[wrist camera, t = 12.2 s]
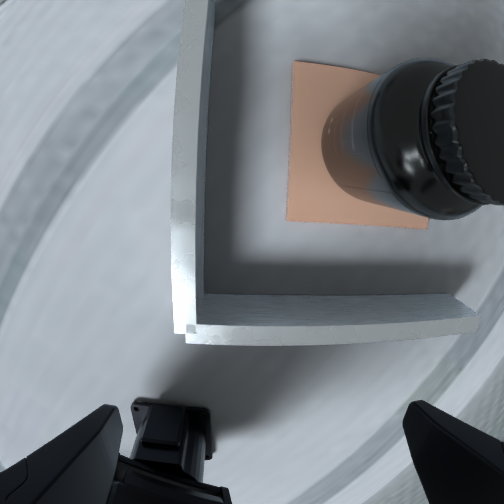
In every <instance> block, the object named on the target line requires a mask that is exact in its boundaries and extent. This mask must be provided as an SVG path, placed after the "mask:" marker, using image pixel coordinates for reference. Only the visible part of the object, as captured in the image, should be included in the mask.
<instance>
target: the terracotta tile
mask: <svg viewBox="0 0 504 504" xmlns="http://www.w3.org/2000/svg"><path fill="white" fill-rule="evenodd" d="M379 76H381V75H378V74H373V73H369V72H364V71H359V70H353V69H348V68H342V67H336V66H329V65H322V64H315V63H307V62H298V61H294V62H293V63H292V90H291V120H290V145H289V167H288V187H287V205H286V220H287V221H298V222H319V223H338V224H356V225H372V226H388V227H402V228H416V229H428V220H429V218H427V217H423V216H419V215H415V214H412V213H408V212H404V211H400V210H396V209H392V208H389V207H385V206H381V205H377V204H372V203H369V202H365V201H362V200H359V199H357V198H354V197H353V196H351V195H349V194H347V193H346V192H345V191H343V190H342V189H341V188H340V187H339V186H338V185H337V184H336V183H335V182H334V180H333V179H332V177H331V176H330V174H329V172H328V171H327V168H326V166H325V163H324V160H323V156H322V150H321V137H322V131H323V127H324V124H325V122H326V120H327V118H328V116H329V115H330V113H331V112H332V111H333V109H334V108H335V107H336V106H337V105H338V104H340V103H341V102H342V101H344V100H345V99H346V98H348V97H349V96H351V95H352V94H354V93H355V92H357V91H358V90H360V89H361V88H363V87H364V86H366V85H367V84H369V83H370V82H372V81H373V80H375V79H376V78H378V77H379Z"/></svg>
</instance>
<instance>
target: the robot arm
mask: <svg viewBox="0 0 504 504" xmlns="http://www.w3.org/2000/svg"><path fill="white" fill-rule="evenodd" d="M136 407H138V408H136ZM131 412H132V416H133V421H134V425H135V429H136V433H137V437H136V440H135V443H134V446H133V449H132V452H131V456H130V458H127V457H125V456H122V455H120V453H119V448H120V443H121V438H122V433H123V425H122V421H121V417H120V413H119V410H118V408H117V406H114V405H108V404H104V405H102V406H100V407H99V408H98V409H96V410H95V411H93V412H92V413H90V414H89V415H88V416H86V417H85V418H83V419H82V420H80V421H79V422H77V423H76V424H75V425H73V426H72V427H70V428H69V429H67V430H66V431H64V432H63V433H61V434H60V435H58V436H57V437H55V438H54V439H52V440H51V441H49V442H48V443H47V444H45V445H44V446H42V447H41V448H39V449H37V450H36V451H34V452H33V453H31V454H30V455H28V456H27V459H26V458H24V459H22V460H21V461H19V462H17V463H16V464H14V465H13V466H11V467H9V468H8V469H6V470H4V471H2V472H0V504H232V501H231V497H230V494H229V490H228V488H226V487H217V486H213V485H209V484H205V483H203V472H204V460H210V459H212V437H211V416H210V410H209V409H207V408H201V407H186V406H173V405H162V404H152V403H143V402H133V403H132V405H131ZM202 413H205V414H202ZM403 429H404V432H405V436H406V439H407V443H408V446H409V450H410V454H411V457H412V460H413V463H414V466H415V469H416V471H417V474H418V476H419V479H420V481H421V484H422V486H423V489H424V491H425V494H426V496H427V499H428V502H429V504H504V442H502V441H500V440H498V439H496V438H494V437H492V436H490V435H488V434H486V433H484V432H482V431H480V430H478V429H476V428H474V427H472V426H470V425H469V424H467V423H465V422H463V421H461V420H459V419H457V418H455V417H453V416H451V415H449V414H447V413H446V412H444V411H442V410H440V409H438V408H436V407H434V406H432V405H431V404H429V403H427V402H425V401H423V400H418V401H413V402H411V403H410V404H409V406H408V409H407V411H406V414H405V416H404V419H403Z"/></svg>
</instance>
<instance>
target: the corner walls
mask: <svg viewBox="0 0 504 504" xmlns="http://www.w3.org/2000/svg"><path fill="white" fill-rule="evenodd" d="M215 14H216V13H215V5H214V0H185V5H184V13H183V21H182V29H181V38H180V47H179V57H178V67H177V78H176V91H175V105H174V122H173V142H172V170H171V266H172V294H173V315H174V332H175V333H181V334H186V343H190V344H212V345H248V346H297V345H333V344H354V343H371V342H385V341H398V340H409V339H419V338H429V337H438V336H446V335H454V334H462V333H469V332H476V331H477V329H478V325H479V322H480V318H481V315H480V314H478V313H477V312H475V311H474V310H472V309H471V308H469V307H468V306H466V305H465V304H464V303H462V302H461V301H459V300H458V299H456V298H455V297H453V296H452V295H450V294H449V293H440V294H409V295H349V296H304V295H242V294H209V293H204V214H205V174H206V147H207V126H208V107H209V90H210V75H211V61H212V48H213V36H214V25H215Z"/></svg>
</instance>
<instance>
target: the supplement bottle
mask: <svg viewBox="0 0 504 504" xmlns="http://www.w3.org/2000/svg"><path fill="white" fill-rule="evenodd" d="M321 150H322V156H323V160H324V163H325V166H326V168H327V171H328V172H329V174H330V176H331V177H332V179H333V180H334V182H335V183H336V184H337V185H338V186H339V187H340V188H341V189H342V190H343V191H345V192H346V193H347V194H349V195H351V196H353V197H354V198H357V199H359V200H362V201H365V202H369V203H372V204H377V205H381V206H385V207H389V208H392V209H396V210H400V211H404V212H408V213H412V214H415V215H419V216H423V217H427V218H431V219H437V220H454V219H459V218H463V217H465V216H467V215H469V214H471V213H473V212H475V211H476V210H477V209H479V208H480V207H481V206H482V205H487V204H493V205H503V206H504V65H503V64H499V63H497V62H496V61H495V60H490V61H489V60H487V59H480V60H472V61H469V62H467V63H464V64H462V65H456V66H455V65H453V64H451V63H448V62H446V61H443V60H439V59H433V58H417V59H412V60H408V61H406V62H404V63H401V64H399V65H397V66H395V67H394V68H392V69H390V70H389V71H387V72H386V73H384V74H383V75H381V76H379V77H378V78H376V79H375V80H373V81H372V82H370V83H369V84H367V85H366V86H364V87H363V88H361V89H360V90H358V91H357V92H355V93H354V94H352V95H351V96H349V97H348V98H346V99H345V100H344V101H342V102H341V103H340V104H338V105H337V106H336V107H335V108H334V109H333V111H332V112H331V113H330V115H329V116H328V118H327V120H326V122H325V124H324V127H323V131H322V137H321Z"/></svg>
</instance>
